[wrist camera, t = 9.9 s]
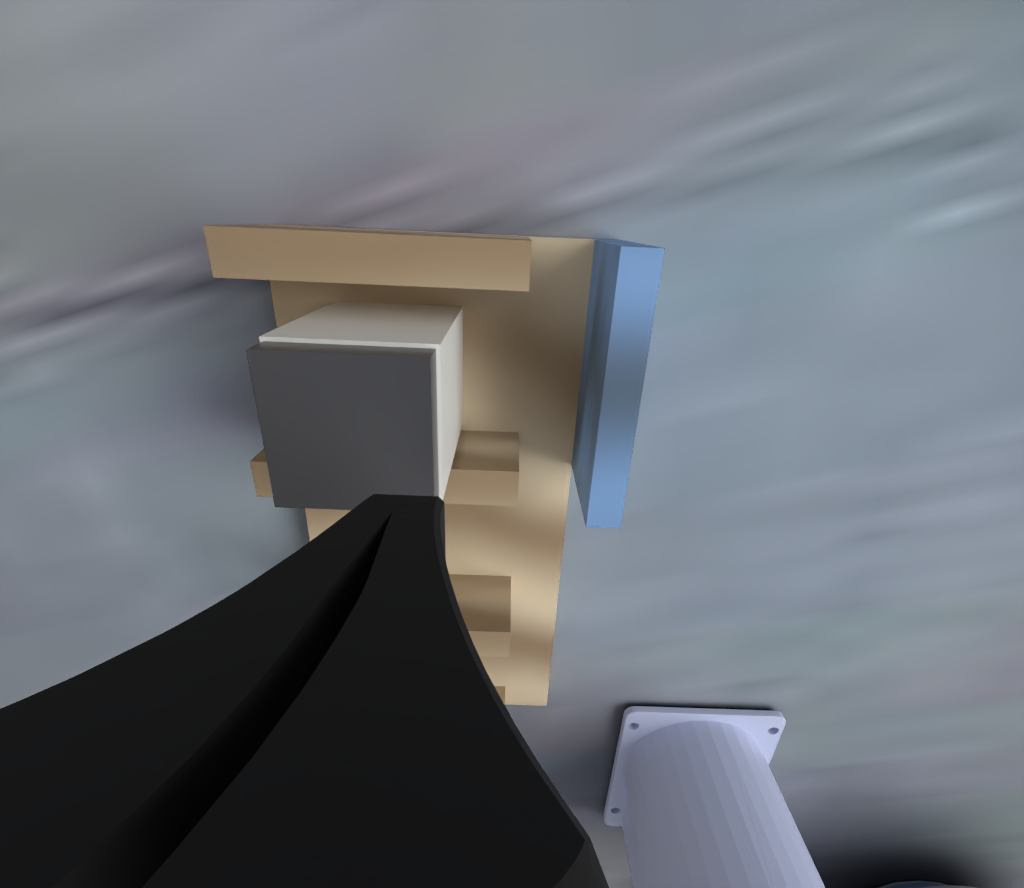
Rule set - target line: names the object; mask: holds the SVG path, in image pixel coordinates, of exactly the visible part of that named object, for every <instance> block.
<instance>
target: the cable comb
mask: <svg viewBox="0 0 1024 888" xmlns="http://www.w3.org/2000/svg"><path fill="white" fill-rule="evenodd" d="M203 229H204V234H205V239H206V244H207V249H208V254H209V259H210V264H211V269H212V274H213V278H236V279H258V280H269V281H270V287H271V294H272V300H273V306H274V313H275V319H276V326H277V328H278V327H281V326H283V325H285V324H287V323H289V322H292V321H294V320H296V319H298V318H300V317H303V316H305V315H307V314H309V313H311V312H314V311H316V310H318V309H320V308H322V307H325V306H327V305H329V304H331V303H333V302H336V301H345V302H368V303H390V304H412V305H434V306H456V307H463V423H462V427H461V431H460V435H459V439H458V443H457V447H456V451H455V455H454V459H453V463H452V467H451V471H450V474H449V478H448V482H447V486H446V490H445V494H444V498H443V501H444V506H445V553H446V564H447V569H448V572H449V576H450V580H451V583H452V587H453V590H454V593H455V596H456V600H457V602H458V605H459V608H460V611H461V614H462V617H463V619H464V622H465V624H466V627H467V629H468V632H469V634H470V637H471V639H472V641H473V644H474V646H475V648H476V650H477V652H478V655H479V657H480V659H481V661H482V663H483V665H484V668H485V670H486V672H487V674H488V675H489V677H490V679H491V681H492V683H493V685H494V686H495V688H496V690H497V692H498V694H499V696H500V698H501V699H502V701H503V703H504V705H505V704H507V705H537V706H547V697H548V687H549V677H550V668H551V658H552V648H553V639H554V629H555V619H556V610H557V600H558V590H559V581H560V571H561V561H562V552H563V542H564V532H565V523H566V513H567V503H568V494H569V484H570V475H571V465H572V469H573V473H574V478H575V482H576V486H577V490H578V495H579V499H580V503H581V508H582V512H583V516H584V520H585V525H586V527H596V528H620V527H621V521H622V514H623V508H624V502H625V496H626V489H627V483H628V477H629V471H630V464H631V458H632V452H633V445H634V439H635V433H636V427H637V420H638V414H639V408H640V402H641V395H642V389H643V383H644V376H645V370H646V364H647V358H648V351H649V345H650V339H651V332H652V326H653V320H654V314H655V307H656V301H657V295H658V289H659V282H660V276H661V270H662V263H663V257H664V251H665V248H660V247H655V246H650V245H644V244H639V243H634V242H628V241H623V240H606V239H584V238H562V237H540V236H519V235H497V234H475V233H453V232H431V231H410V230H388V229H366V228H344V227H322V226H300V225H279V224H268V225H210V226H203ZM250 464H251V469H252V474H253V479H254V484H255V489H256V494H257V496H262V497H273V493H272V488H271V482H270V477H269V472H268V466H267V461H266V455H265V450H264V449H263V450H262V451H261V452H260V453H259V454H257V455H256V456H255V457H254V458H253V459H252V460H251V461H250ZM350 511H351V510H335V509H309V508H305V512H306V519H307V525H308V532H309V538H310V541H311V540H313V539H314V538H315V537H317V536H318V535H319V534H321V533H322V532H323V531H325V530H326V529H328V528H329V527H330V526H332V525H333V524H334V523H335V522H337V521H338V520H339V519H341V518H342V517H343V516H345V515H346V514H347V513H348V512H350Z"/></svg>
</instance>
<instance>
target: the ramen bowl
mask: <svg viewBox="0 0 1024 888" xmlns="http://www.w3.org/2000/svg"><path fill="white" fill-rule="evenodd" d="M878 888H977V887H970V886H954V885H946V884H943V883H938V882H928V881H904V882H894V883H891V884H888V885H884V886H881V887H878Z"/></svg>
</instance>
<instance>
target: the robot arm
mask: <svg viewBox="0 0 1024 888" xmlns="http://www.w3.org/2000/svg"><path fill="white" fill-rule="evenodd" d="M785 724H786V720H785V718H784V717H783V715H782V713H781V712H779V711H771V710H740V709H710V708H679V707H649V706H631V707H628V708H627V709H626V710H625V711H624V714H623V719H622V724H621V729H620V734H619V739H618V744H617V749H616V754H615V759H614V764H613V769H612V774H611V779H610V784H609V789H608V794H607V799H606V804H605V809H604V814H603V815H604V822H605V823H606V824H607V825H609V826H622V827H623V833H624V839H625V844H626V850H627V855H628V861H629V867H630V872H631V878H632V884H633V888H825V886H824V884H823V882H822V880H821V877H820V875H819V873H818V871H817V869H816V867H815V865H814V862H813V860H812V858H811V856H810V854H809V852H808V850H807V847H806V845H805V843H804V841H803V839H802V837H801V835H800V832H799V830H798V828H797V826H796V824H795V822H794V819H793V817H792V815H791V813H790V811H789V809H788V807H787V804H786V802H785V800H784V798H783V796H782V794H781V792H780V789H779V787H778V785H777V783H776V781H775V779H774V777H773V774H772V772H771V770H770V768H769V763H770V761H771V758H772V756H773V753H774V751H775V748H776V746H777V743H778V741H779V738H780V736H781V734H782V731H783V729H784V726H785ZM0 888H609V886H608V884H607V881H606V879H605V876H604V873H603V871H602V868H601V866H600V863H599V860H598V858H597V855H596V852H595V850H594V847H593V844H592V842H591V840H590V837H589V836H588V834H587V833H586V831H585V830H584V828H583V827H582V826H581V824H580V823H579V821H578V820H577V818H576V817H575V816H574V814H573V813H572V811H571V810H570V809H569V807H568V806H567V804H566V803H565V801H564V800H563V799H562V797H561V796H560V794H559V793H558V791H557V790H556V788H555V787H554V785H553V784H552V782H551V781H550V779H549V778H548V776H547V775H546V773H545V772H544V770H543V769H542V767H541V766H540V764H539V763H538V761H537V759H536V758H535V756H534V754H533V753H532V751H531V750H530V748H529V746H528V745H527V743H526V741H525V740H524V738H523V737H522V735H521V733H520V732H519V730H518V728H517V727H516V725H515V724H514V722H513V720H512V718H511V716H510V714H509V712H508V711H507V709H506V707H505V705H504V703H503V701H502V699H501V698H500V696H499V694H498V692H497V690H496V688H495V686H494V685H493V683H492V681H491V679H490V677H489V675H488V674H487V672H486V670H485V668H484V665H483V663H482V661H481V659H480V657H479V655H478V652H477V650H476V648H475V646H474V644H473V641H472V639H471V637H470V634H469V632H468V629H467V627H466V624H465V622H464V619H463V617H462V614H461V611H460V608H459V605H458V602H457V600H456V596H455V593H454V590H453V587H452V583H451V580H450V576H449V572H448V569H447V564H446V553H445V506H444V501H443V500H442V499H441V498H440V497H439V496H416V495H388V494H373V495H371V496H370V497H368V498H367V499H366V500H364V501H363V502H361V503H360V504H359V505H358V506H356V507H355V508H354V509H352V510H351V511H350V512H348V513H347V514H346V515H345V516H343V517H342V518H341V519H339V520H338V521H337V522H335V523H334V524H333V525H332V526H330V527H329V528H328V529H326V530H325V531H323V532H322V533H321V534H319V535H318V536H317V537H315V538H314V539H313V540H311V541H310V542H309V543H307V544H306V545H305V546H303V547H302V548H301V549H299V550H298V551H296V552H295V553H293V554H292V555H291V556H289V557H288V558H286V559H285V560H283V561H282V562H280V563H279V564H277V565H276V566H274V567H273V568H271V569H270V570H268V571H267V572H265V573H264V574H262V575H261V576H259V577H258V578H257V579H255V580H254V581H252V582H251V583H249V584H248V585H246V586H244V587H243V588H241V589H240V590H238V591H236V592H235V593H233V594H231V595H230V596H228V597H226V598H225V599H223V600H221V601H220V602H218V603H217V604H215V605H213V606H211V607H209V608H208V609H206V610H204V611H202V612H201V613H199V614H197V615H195V616H194V617H192V618H190V619H188V620H186V621H185V622H183V623H181V624H179V625H177V626H176V627H174V628H172V629H170V630H168V631H166V632H164V633H162V634H160V635H158V636H156V637H154V638H152V639H150V640H148V641H146V642H144V643H142V644H140V645H138V646H136V647H134V648H132V649H130V650H128V651H126V652H124V653H122V654H120V655H118V656H116V657H114V658H112V659H110V660H108V661H106V662H104V663H102V664H100V665H97V666H95V667H93V668H91V669H89V670H87V671H85V672H83V673H81V674H79V675H77V676H75V677H72V678H70V679H68V680H66V681H64V682H61V683H59V684H57V685H54V686H52V687H50V688H48V689H45V690H43V691H41V692H39V693H36V694H34V695H32V696H30V697H27V698H25V699H23V700H20V701H18V702H16V703H13V704H11V705H9V706H6V707H4V708H1V709H0Z"/></svg>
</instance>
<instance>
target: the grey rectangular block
mask: <svg viewBox="0 0 1024 888" xmlns="http://www.w3.org/2000/svg"><path fill="white" fill-rule="evenodd" d="M259 340H260V343H259V344H257V345H255V346H253V347H251V348H249V349H247V350H246V352H247V357H248V362H249V368H250V373H251V379H252V384H253V390H254V395H255V401H256V406H257V412H258V417H259V422H260V428H261V433H262V439H263V444H264V450H265V455H266V461H267V466H268V472H269V477H270V482H271V488H272V493H273V499H274V504H275V507H284V508H309V509H335V510H352V509H354V508H355V507H356V506H358V505H359V504H360V503H361V502H363V501H364V500H366V499H367V498H368V497H370V496H371V495H373V494H388V495H416V496H439V497H440V498H441V499H442V500H443V498H444V494H445V490H446V486H447V482H448V478H449V474H450V471H451V467H452V463H453V459H454V455H455V451H456V447H457V443H458V439H459V435H460V431H461V427H462V423H463V307H456V306H434V305H412V304H390V303H368V302H345V301H336V302H333V303H331V304H329V305H327V306H325V307H322V308H320V309H318V310H316V311H314V312H311V313H309V314H307V315H305V316H303V317H300V318H298V319H296V320H294V321H292V322H289V323H287V324H285V325H283V326H281V327H278V328H276V329H274V330H272V331H270V332H267V333H265V334H263V335H261V336H259Z"/></svg>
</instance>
